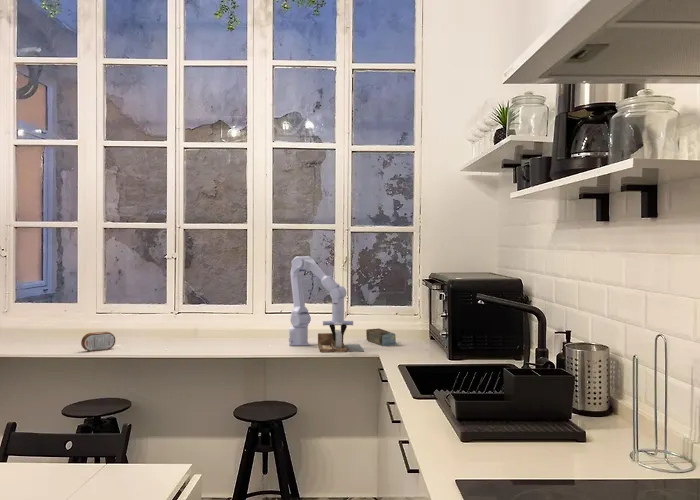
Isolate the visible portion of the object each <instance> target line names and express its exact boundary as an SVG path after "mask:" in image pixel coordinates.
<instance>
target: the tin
mask: <svg viewBox="0 0 700 500" xmlns="http://www.w3.org/2000/svg"><path fill="white" fill-rule="evenodd" d="M80 345H81V347H82V348H83V349H84V350H85V351H86V352H99V351H107V350H108V351H109V350H111V349H112V348H113V347H114V346H115V345H116V337H115V335H114V334H113V333H112V332H110V331H101V332H100V331H99V332H98V331H97V332H89V333H86V334H85V335H84V336H83V337H82V339H81V342H80Z"/></svg>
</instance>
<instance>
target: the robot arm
mask: <svg viewBox="0 0 700 500" xmlns="http://www.w3.org/2000/svg"><path fill="white" fill-rule="evenodd" d="M290 268H291V269H290V272H289V274H290V283H291V284H290V285H291V292H292V302H293V303H292V304H293V309H292V310H291V312H290V314H291V315H290V318H289V319H290V324H291V326H289V328H288V332H289V338H288V343H289V346H290V347H291V346H296V347H297V346H309V345H310V343H309V341H308V339H309V337H308V336H309V324H310V322H311V315H310V313H309V309H308V308H307V307H306V304H305V303H306V301H305V296H304V295H305V294H304V287H303V279H302V278H303V274H304V273H305V272H306V271H310V272H311V273H312V274H313V275H315V277H316V278H318V279H319V280H320V283H321V285H322V286H323V288H324V289H325V290H326V291H327V292H328V293H329V296H330V298H331V303H332V304H331V305H332V307H331V311H332V312H331V320H324V321H323V320H322V326H324V327H325V326H329V328H330V331H331V333H332V334H333V340H334V341H335V330H336V326H340V331H341V333H342V340H343V341H344V335H345V332H346V330H347V328H348V326H354V320H345V298H346V296H347V290H346V288H345V286H340V284H339V283H337V282H336V280H335V279H334V277H333V276H330V275H326V273H325V272H324V271H323V270H322V269H321V267H320V266H318V264H317V263H316V261H315V260H314V259H313V258H312V257H311V256H310V255H305V256H304V255H301V256H299V255H297V256H295V257H294V258H293V259H292V260H291V267H290Z"/></svg>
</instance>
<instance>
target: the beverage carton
mask: <svg viewBox="0 0 700 500" xmlns="http://www.w3.org/2000/svg"><path fill="white" fill-rule="evenodd" d="M365 332H366V336H365V337H366V341H367V340H368V341H367V342H369V343H370V342H371V343H373V344H376V345H378V346H381V347H387V346H388V347H389V346H396V344H397V343H396V337H397V336H396V334H395V333H394V332H391V331H388V330H385V329H381V328H379V327H378V328H368V329H366V331H365Z"/></svg>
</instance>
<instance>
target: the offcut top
mask: <svg viewBox="0 0 700 500" xmlns="http://www.w3.org/2000/svg"><path fill="white" fill-rule="evenodd" d="M322 348H323V349H332V347H331V346H329V345H322Z"/></svg>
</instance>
